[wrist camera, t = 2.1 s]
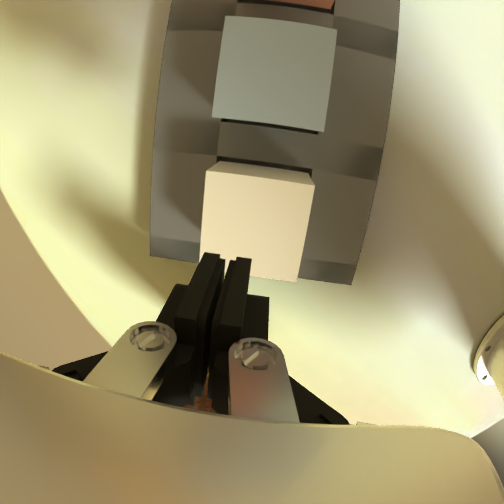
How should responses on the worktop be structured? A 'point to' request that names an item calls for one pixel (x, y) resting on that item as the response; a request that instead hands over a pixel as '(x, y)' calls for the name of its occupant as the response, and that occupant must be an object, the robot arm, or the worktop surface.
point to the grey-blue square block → (274, 72)
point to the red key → (311, 3)
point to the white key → (257, 217)
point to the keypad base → (275, 128)
